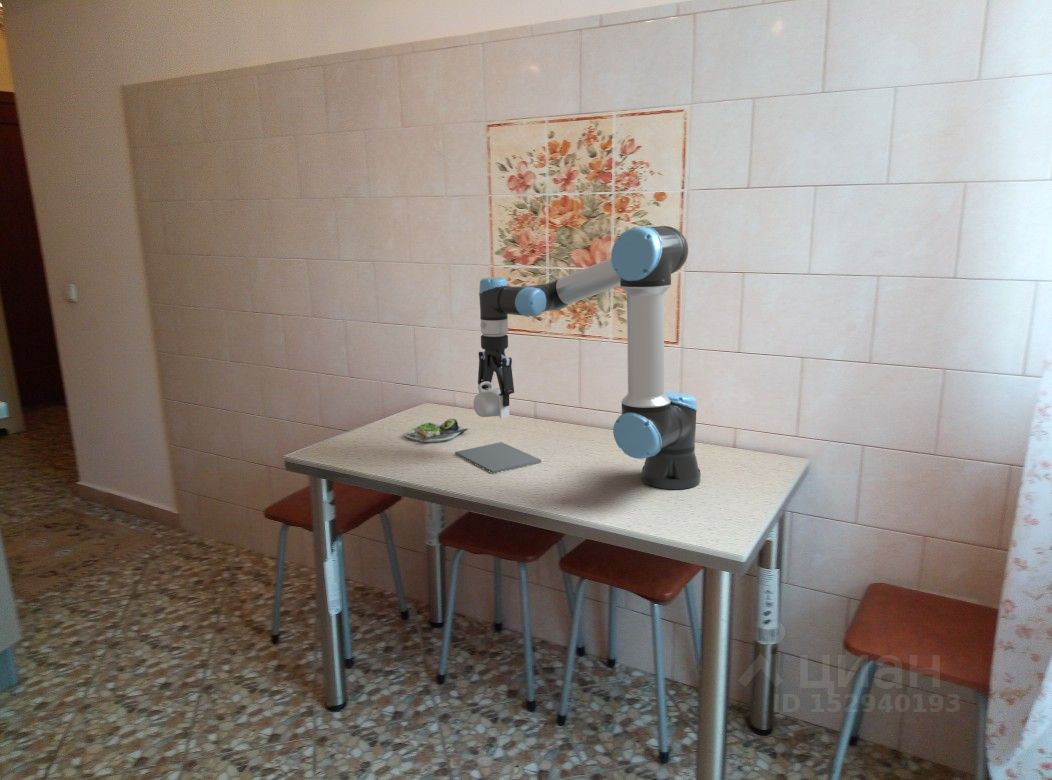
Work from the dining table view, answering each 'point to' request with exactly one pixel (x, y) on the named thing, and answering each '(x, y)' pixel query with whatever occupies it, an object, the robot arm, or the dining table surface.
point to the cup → (487, 401)
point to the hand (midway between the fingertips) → (496, 413)
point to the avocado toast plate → (436, 431)
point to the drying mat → (498, 457)
